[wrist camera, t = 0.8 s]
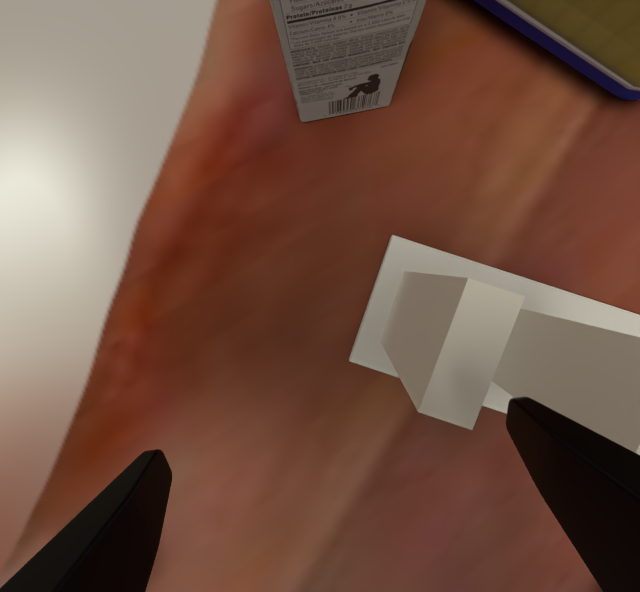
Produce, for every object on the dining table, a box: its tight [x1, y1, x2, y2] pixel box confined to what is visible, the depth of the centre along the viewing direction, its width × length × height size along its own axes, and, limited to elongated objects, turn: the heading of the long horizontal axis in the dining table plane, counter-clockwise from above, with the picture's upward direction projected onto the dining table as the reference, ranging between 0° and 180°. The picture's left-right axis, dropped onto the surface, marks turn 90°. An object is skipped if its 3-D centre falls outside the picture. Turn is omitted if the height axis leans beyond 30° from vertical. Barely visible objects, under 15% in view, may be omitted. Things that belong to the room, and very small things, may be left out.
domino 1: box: [380, 271, 525, 430], centre depth 17 cm, size 2×5×11 cm, turn 162°
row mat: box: [349, 235, 640, 414], centre depth 23 cm, size 9×27×1 cm, turn 72°
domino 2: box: [492, 308, 640, 455], centre depth 17 cm, size 2×5×11 cm, turn 162°
